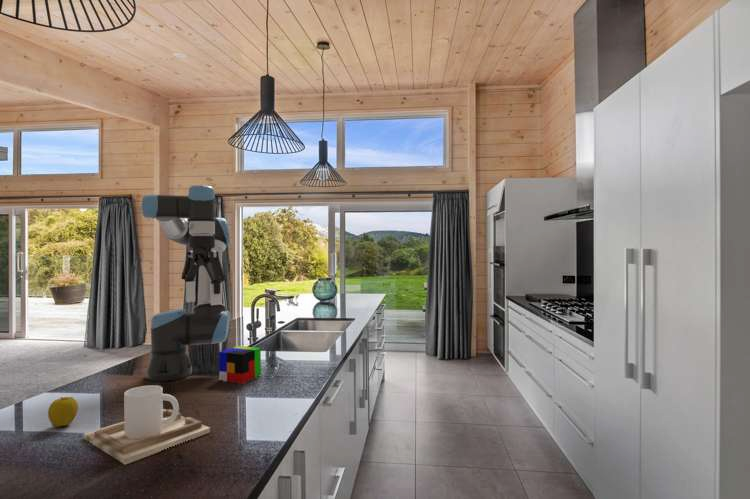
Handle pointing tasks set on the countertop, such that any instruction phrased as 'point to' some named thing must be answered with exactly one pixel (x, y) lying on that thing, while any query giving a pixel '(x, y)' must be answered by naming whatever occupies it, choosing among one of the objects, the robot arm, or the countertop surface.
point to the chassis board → (135, 449)
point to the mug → (146, 411)
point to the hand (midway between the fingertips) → (202, 303)
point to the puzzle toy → (239, 364)
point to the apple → (62, 411)
